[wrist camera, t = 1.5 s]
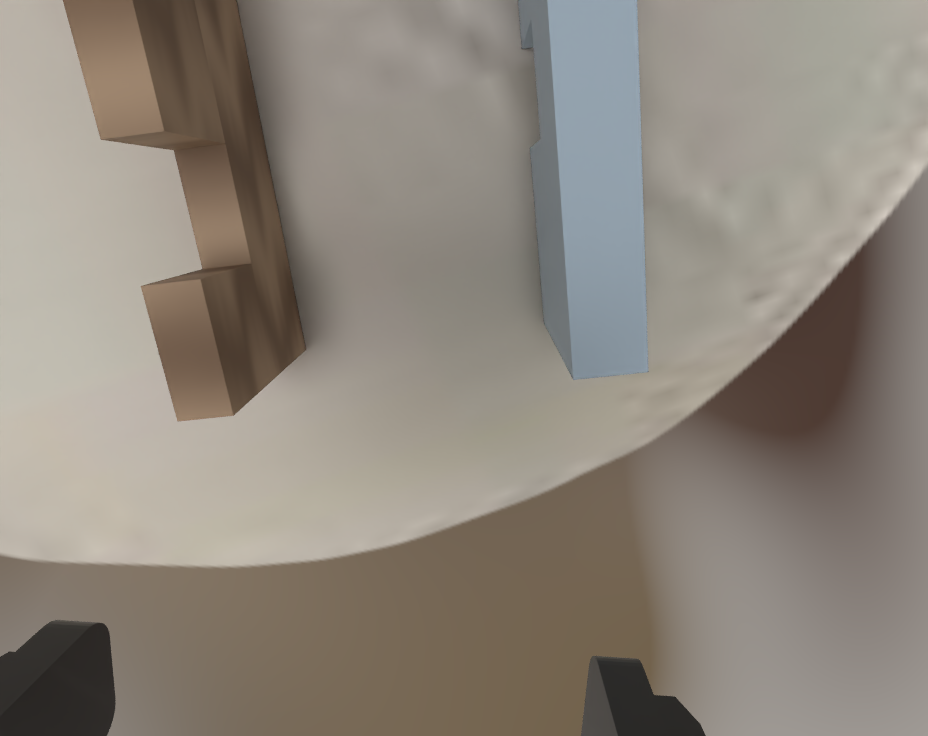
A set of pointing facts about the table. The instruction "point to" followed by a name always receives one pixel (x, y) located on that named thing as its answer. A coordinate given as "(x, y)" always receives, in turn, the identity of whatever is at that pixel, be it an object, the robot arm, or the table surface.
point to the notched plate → (589, 182)
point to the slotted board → (199, 190)
